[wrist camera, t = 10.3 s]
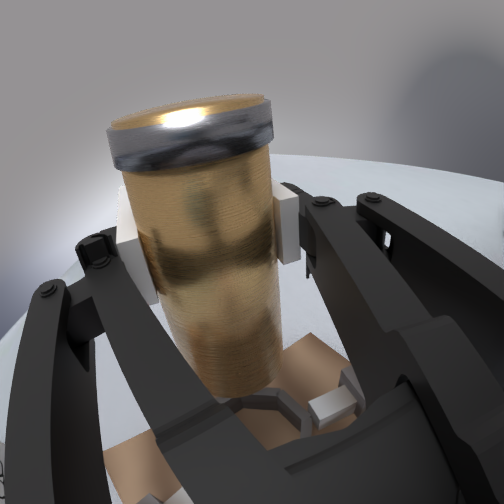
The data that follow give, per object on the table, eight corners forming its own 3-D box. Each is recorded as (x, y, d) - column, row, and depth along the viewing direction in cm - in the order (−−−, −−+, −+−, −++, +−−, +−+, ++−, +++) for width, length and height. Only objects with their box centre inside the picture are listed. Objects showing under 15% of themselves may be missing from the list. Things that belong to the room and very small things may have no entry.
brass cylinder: (282, 317, 18) (265, 90, 12) (292, 397, 13) (278, 101, 7) (189, 324, 18) (135, 110, 12) (176, 402, 14) (75, 137, 7)
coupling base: (309, 341, 33) (310, 309, 30) (405, 412, 24) (420, 385, 21) (107, 459, 22) (81, 437, 19) (176, 577, 13) (153, 578, 10)
